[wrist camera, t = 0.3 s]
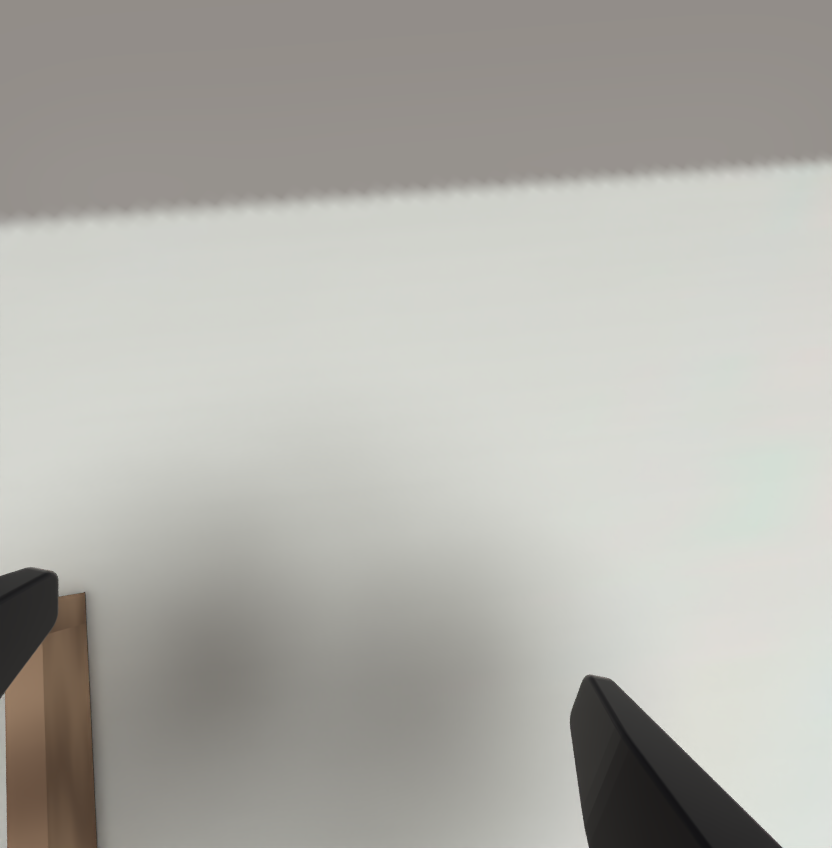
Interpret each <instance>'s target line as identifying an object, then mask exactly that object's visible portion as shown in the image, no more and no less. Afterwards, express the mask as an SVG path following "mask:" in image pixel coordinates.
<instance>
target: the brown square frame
mask: <svg viewBox="0 0 832 848" xmlns="http://www.w3.org/2000/svg"><path fill="white" fill-rule="evenodd" d="M5 720H6V788H7V848H97V837H96V816H95V795H94V774H93V753H92V732H91V711H90V689H89V668H88V647H87V626H86V605H85V592H84V593H79V594H73V595H67V596H61V597H58V617H57V620H56V623H55V625H54V627H53V628H52V630H51V631H50V632H49V634H48V635H47V636H46V638H45V639H44V641H43V642H42V643H41V645H40V646H39V647H38V649H37V650H36V651H35V653H34V654H33V655H32V657H31V658H30V659H29V661H28V662H27V663H26V665H25V666H24V667H23V669H22V670H21V671H20V673H19V674H18V675H17V677H16V678H15V679H14V681H13V682H12V683H11V685H10V686H9V687H8V689H7V690H6V691H5Z"/></svg>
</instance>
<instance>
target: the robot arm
mask: <svg viewBox="0 0 832 848" xmlns="http://www.w3.org/2000/svg"><path fill="white" fill-rule="evenodd" d="M57 617H58V576H57V574H56V573H55V572H53V571H49V570H44V569H39V568H33V567H29V568H24V569H21V570H18V571H15V572H12V573H9V574H5V575H2V576H0V698H1V697H2V695H3V694H4V693H5V691H6V690H7V689H8V687H9V686H10V685H11V683H12V682H13V681H14V679H15V678H16V677H17V675H18V674H19V673H20V671H21V670H22V669H23V667H24V666H25V665H26V663H27V662H28V661H29V659H30V658H31V657H32V655H33V654H34V653H35V651H36V650H37V649H38V647H39V646H40V645H41V643H42V642H43V641H44V639H45V638H46V636H47V635H48V634H49V632H50V631H51V630H52V628H53V627H54V625H55V623H56V620H57ZM570 729H571V736H572V744H573V751H574V758H575V765H576V772H577V780H578V787H579V794H580V801H581V808H582V815H583V821H584V827H585V832H586V836H587V841H588V846H589V848H782V847H781V846H780V845H779V844H778V843H777V842H776V841H775V840H774V839H773V838H772V837H771V836H770V835H769V834H768V833H767V832H766V831H765V830H764V829H763V828H762V827H761V826H760V825H759V824H758V823H757V822H756V821H755V820H754V819H753V818H752V817H751V816H750V815H749V814H748V813H747V812H746V811H745V810H744V809H743V808H742V807H741V806H740V805H739V804H738V803H737V802H736V801H735V800H734V799H733V798H732V797H731V796H730V795H729V794H728V793H727V792H725V791H724V790H723V789H722V788H721V787H720V786H719V785H718V784H717V783H716V782H715V781H714V780H713V779H712V778H711V777H710V776H709V775H708V774H707V773H706V772H705V771H704V770H703V769H702V768H701V767H700V766H699V765H698V764H697V763H696V762H695V761H694V760H693V759H692V758H691V757H690V756H689V755H688V754H687V753H686V752H685V751H684V750H683V749H682V748H681V747H680V746H679V745H678V744H677V743H676V742H675V741H674V740H673V739H672V738H671V737H670V736H669V735H668V734H667V733H666V732H665V731H663V730H662V729H661V728H660V727H659V726H658V725H657V724H656V723H655V722H654V721H653V720H652V719H651V718H650V717H649V716H648V715H647V714H646V713H645V712H644V711H643V710H642V709H641V708H640V707H639V706H638V705H637V704H636V703H635V702H634V701H633V700H632V699H631V698H630V697H629V696H628V695H627V694H626V693H625V692H624V691H623V690H622V689H621V688H620V687H619V686H618V685H617V684H616V683H615V682H614V681H612V680H611V679H609V678H605V677H600V676H595V675H587V676H585V677H584V679H583V681H582V683H581V686H580V688H579V691H578V694H577V697H576V699H575V702H574V705H573V708H572V711H571V715H570Z"/></svg>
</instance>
